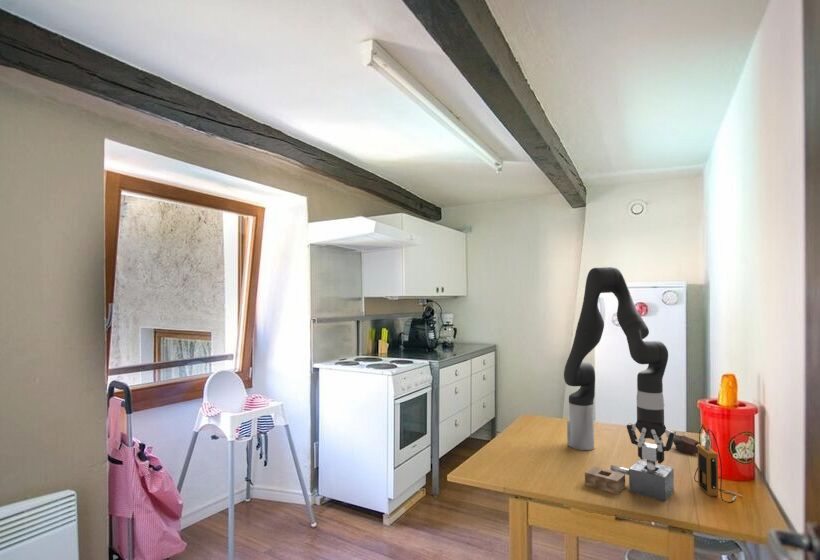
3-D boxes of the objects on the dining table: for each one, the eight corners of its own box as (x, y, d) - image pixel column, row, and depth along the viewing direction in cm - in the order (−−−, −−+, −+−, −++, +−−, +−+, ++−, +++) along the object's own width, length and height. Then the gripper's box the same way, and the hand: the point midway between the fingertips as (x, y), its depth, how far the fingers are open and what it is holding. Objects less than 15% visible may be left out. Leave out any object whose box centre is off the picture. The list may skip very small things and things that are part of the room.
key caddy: (585, 485, 145) (584, 472, 145) (593, 478, 150) (593, 466, 151) (617, 494, 139) (617, 481, 139) (625, 487, 144) (625, 474, 144)
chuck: (606, 485, 145) (605, 462, 145) (616, 475, 153) (616, 454, 153) (665, 501, 134) (665, 477, 134) (673, 490, 141) (673, 467, 141)
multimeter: (752, 504, 131) (750, 435, 132) (714, 502, 133) (713, 433, 134) (726, 483, 146) (725, 420, 146) (692, 481, 148) (691, 419, 148)
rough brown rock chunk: (703, 439, 173) (674, 430, 179) (700, 451, 168) (670, 441, 175) (702, 451, 175) (673, 441, 182) (698, 462, 171) (669, 452, 177)
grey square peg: (642, 484, 141) (641, 445, 141) (646, 480, 144) (645, 442, 144) (656, 488, 138) (656, 448, 138) (660, 484, 141) (659, 445, 141)
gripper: (622, 404, 143) (622, 458, 143) (672, 412, 134) (674, 470, 133) (629, 399, 149) (630, 452, 149) (679, 407, 139) (680, 463, 139)
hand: (651, 460), depth 141 cm, fingers open, 4 cm apart
